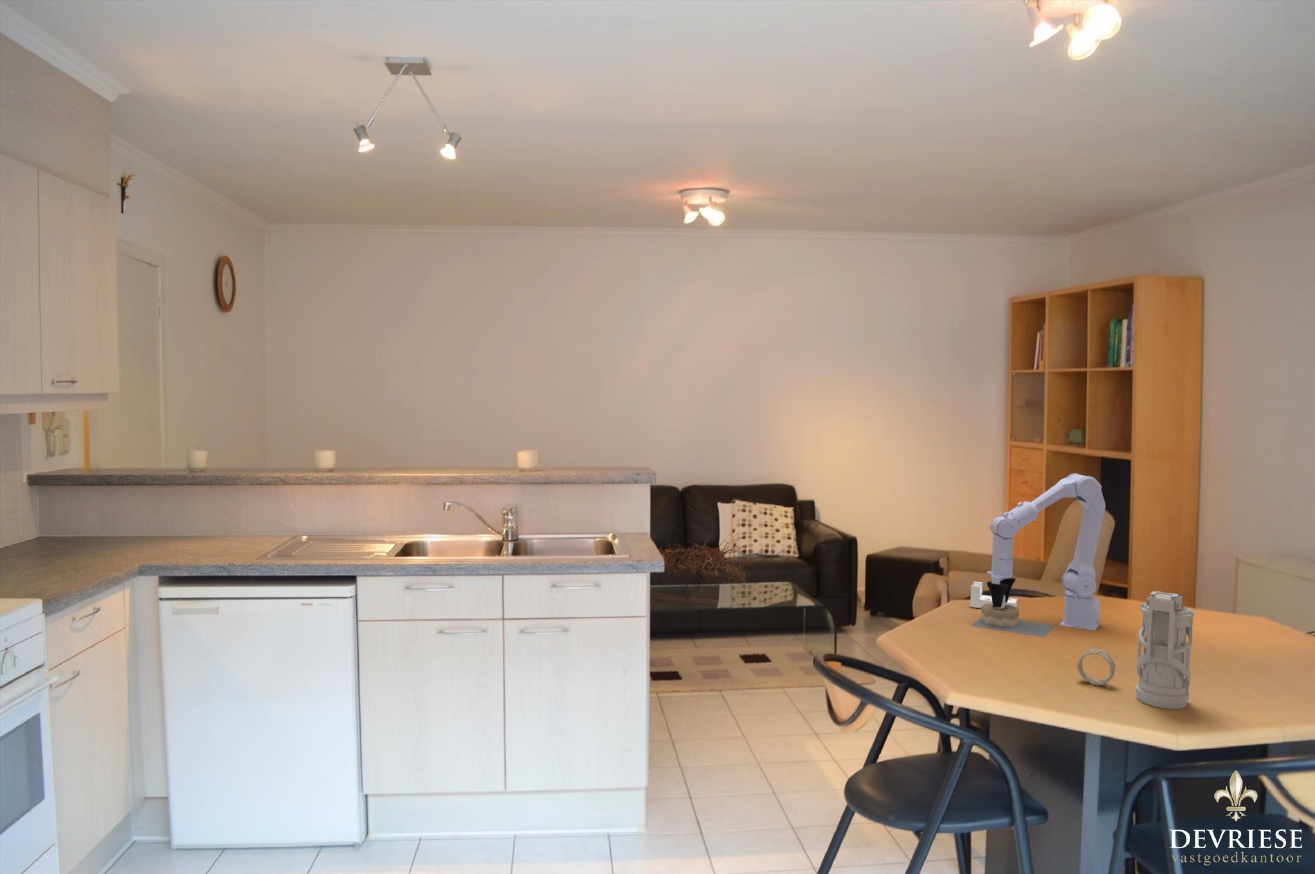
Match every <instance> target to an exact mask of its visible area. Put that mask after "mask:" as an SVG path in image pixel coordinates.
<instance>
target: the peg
mask: <svg viewBox="0 0 1315 874" xmlns="http://www.w3.org/2000/svg"><path fill="white" fill-rule="evenodd" d="M995 608H997V609H1005V595H1004V597H1003V602H1002V606H1001V608H999V607H995Z"/></svg>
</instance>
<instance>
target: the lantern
mask: <svg viewBox="0 0 1315 874" xmlns="http://www.w3.org/2000/svg"><path fill="white" fill-rule="evenodd" d="M1149 594H1150V596H1147V597H1146V600H1145V602H1142V603H1141V604H1140V605H1139V611H1140V612H1141V613H1142V623H1141V627H1140V629H1139V630H1138V640H1137V641H1138V642H1137V655H1136V656H1137V657H1136V658H1137V659H1136V673H1137V675H1138V677H1139V680H1138V684H1136V686H1135V695H1136V699H1137V700H1138V701H1139V702H1140V703H1143V704H1145V705H1147V706H1151V707H1156V708H1161V709H1167V710H1180V709H1184V708H1186V707H1187V705H1188V703H1189V697H1190V694H1189V687H1190V683H1191V671H1190V666H1191V664H1190V663H1191V648H1192V644H1193V624H1194V623H1193V621H1194V614H1195V611H1194V610H1193V609H1191V608H1190V607H1186V606H1182V604H1183V602H1182V601H1183V595H1182V594H1179V593H1173V592H1172V593H1171V592H1169V593H1168V592H1163V591H1157V590H1156V591H1151V592H1150V593H1149ZM1143 636H1144V638H1143ZM1187 637H1188V640H1187ZM1186 640H1187V641H1186ZM1142 647H1143V654H1142Z"/></svg>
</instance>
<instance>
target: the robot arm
mask: <svg viewBox="0 0 1315 874" xmlns="http://www.w3.org/2000/svg"><path fill="white" fill-rule="evenodd" d="M1102 487H1103V486H1102V485H1101V484H1100V482H1099V481H1098V480H1097V479H1096V478H1095V477H1093V476H1090V475H1083V474H1079V473H1070V474H1069V475H1067V476H1066V477H1064V478H1062V479H1060V480H1059V481H1058V482H1057V483H1056V484H1054V485H1053V486H1052V487H1050V488H1049V489H1048V490H1047V491H1045V492H1043V493H1042V494H1041V495H1039V496H1038V497H1036V498H1035V499H1034V500H1033V501H1031V502H1030V501H1023V502H1022V501H1019V502H1018V503H1017V504H1016V505H1017V506H1016V507H1014V508H1013V509H1011V510H1009V511H1008V512H1007V511H1005V512H1003V516H997V517H995V518H994V519H993V520H992V522H991V525H989V528H990V529H989V530H990V531H991V532H992V534H993V535H992V546H991V547H992V550H991V551H992V552H991V571H990V570H989V571H987V572H986V574H987V575H990V576H991V580H988V581H987V582H986V586H987V587H988V590H989V593H990V596H991V597H992V603H993V607H999V608H1001V606H1002V602H1003V597H1004V595H1005V603H1007V602H1008V598H1010V595H1011V590H1012V588H1013V586H1014V583H1015V582H1016V578H1015V577H1013V576H1014V574H1013V569H1014V568H1013V567H1014V565H1013V563H1014V562H1013V561H1014V546H1015V543H1014V540H1015V537H1016V535H1017V534H1018V532H1019V530H1021V529H1022V528H1024V527H1025V526H1028V524H1030V523H1032V522H1033V521H1035V520H1036V519H1037V518H1039V517H1038V516H1039V513H1040V511H1043V509H1045V508H1047V507H1049V506H1051V505H1052V504H1054V503H1056V502H1058V501H1060V499H1061V500H1062V499H1063V498H1075V499H1077V501H1078V502H1079V503H1080V505H1082V507H1083V512H1082V517H1081V522H1080V525H1079V530H1078V536H1077V541H1076V546H1075V550H1074V555H1073V559H1072V560H1071V561H1070V562H1069V563H1068V565H1067V568H1066V570H1065V572H1064V573H1063V575H1062V577H1061V584H1062V586H1063V587H1064V588H1065V591H1064V603H1063V604H1064V606H1063V620H1062V621H1061V622H1060V624H1059V626H1061V627H1069V628H1073V629H1074V628H1075V629H1082V630H1089V631H1097V629H1098V628H1099V626H1100V609H1101V599H1100V598H1098V597H1093V595H1094V594H1095V593H1096V590H1097V582H1096V576H1097V575H1096V570H1095V567H1094V561H1095V556H1096V552H1097V547H1098V542H1099V538H1100V534H1101V529H1102V524H1103V521H1104V515H1105V511H1106V502H1105V499H1104V496H1103V491H1102Z"/></svg>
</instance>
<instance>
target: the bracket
mask: <svg viewBox="0 0 1315 874" xmlns="http://www.w3.org/2000/svg"><path fill="white" fill-rule="evenodd" d="M969 603H970V604H969V607H970V608H977V609H981V607H982V605H984V604H989V603H992V597H991V595H985V594H983V582H981V581H973V583H972V584H971V585H970V601H969ZM1005 604H1006V605H1012V606H1014V607H1017V606H1018V598H1012V597H1009V598H1008V602H1007V603H1005ZM1017 608H1018V607H1017Z"/></svg>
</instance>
